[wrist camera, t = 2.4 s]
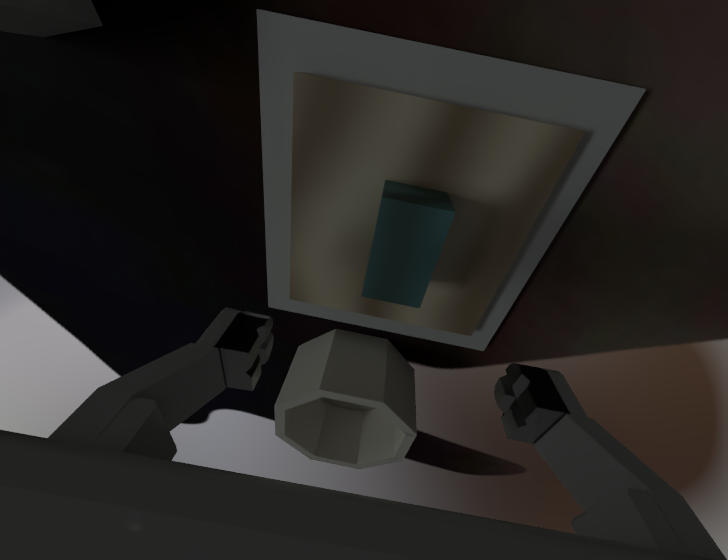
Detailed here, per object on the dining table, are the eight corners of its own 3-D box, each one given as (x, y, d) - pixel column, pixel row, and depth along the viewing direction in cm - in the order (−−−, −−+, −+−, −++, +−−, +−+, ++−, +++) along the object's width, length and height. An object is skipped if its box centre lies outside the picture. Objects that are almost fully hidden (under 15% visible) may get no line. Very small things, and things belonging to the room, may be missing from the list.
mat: (637, 88, 13) (646, 89, 13) (481, 345, 24) (483, 350, 23) (262, 11, 13) (256, 8, 13) (271, 302, 23) (268, 306, 23)
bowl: (424, 346, 24) (429, 411, 19) (395, 413, 31) (393, 476, 26) (299, 321, 24) (273, 380, 19) (296, 393, 31) (276, 452, 26)
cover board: (576, 129, 14) (627, 141, 11) (468, 328, 22) (480, 368, 19) (298, 72, 14) (268, 67, 11) (292, 292, 22) (274, 326, 19)
